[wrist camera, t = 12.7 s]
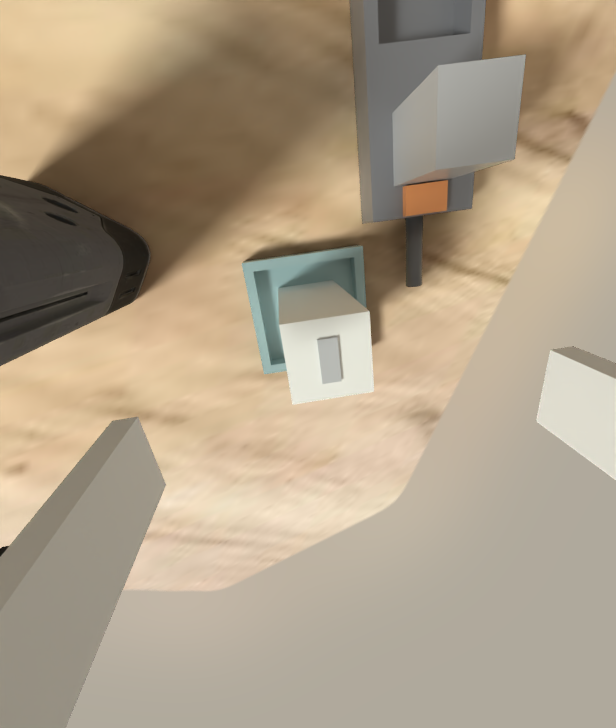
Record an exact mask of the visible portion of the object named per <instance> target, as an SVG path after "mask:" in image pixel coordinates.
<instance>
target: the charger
mask: <svg viewBox="0 0 616 728" xmlns="http://www.w3.org/2000/svg"><path fill="white" fill-rule="evenodd" d="M278 305H279V328H280V333H281V339H282V345H283V351H284V357H285V363H286V369H287V374H288V380H289V386H290V392H291V398H292V404H293V405H294V404H300V403H306V402H312V401H319V400H325V399H331V398H337V397H344V396H350V395H356V394H362V393H369V392H374V382H373V363H372V344H371V325H370V311H369V310H368V309H366V308H365V307H364V306H363V305H362V304H360V303H359V302H358V301H357V300H356V299H355V298H353V297H352V296H351V295H350V294H349V293H347V292H346V291H345V290H344V289H343V288H341V287H340V286H339V285H338V284H337V283H335V282H334V281H333V280H329V281H322V282H316V283H309V284H302V285H295V286H288V287H282V288H278Z"/></svg>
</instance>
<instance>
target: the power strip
mask: <svg viewBox="0 0 616 728" xmlns="http://www.w3.org/2000/svg"><path fill="white" fill-rule="evenodd" d="M485 6H486V0H350V17H351V35H352V52H353V70H354V88H355V105H356V123H357V141H358V158H359V176H360V194H361V211H362V224H364V223H373V222H380V221H387V220H394V219H401V218H406V286H407V287H416V286H421V285H422V237H423V215H430V214H437V213H444V212H451V211H458V210H465V209H472V200H473V185H474V172H475V171H478V170H482V169H485V168H488V167H491V166H495V165H498V164H501V163H504V162H507V161H511V160H514V159H515V150H516V141H517V132H518V123H519V113H520V104H521V95H522V86H523V77H524V67H525V58H526V55H518V56H510V57H502V58H494V59H486V60H482V50H483V35H484V21H485Z"/></svg>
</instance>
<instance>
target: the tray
mask: <svg viewBox="0 0 616 728" xmlns="http://www.w3.org/2000/svg"><path fill="white" fill-rule="evenodd" d="M242 267H243V272H244V277H245V282H246V286H247V291H248V296H249V301H250V306H251V311H252V316H253V321H254V326H255V331H256V336H257V341H258V346H259V351H260V356H261V361H262V366H263V370H264V374H269V373H275V372H282V371H287V369H286V363H285V357H284V351H283V345H282V339H281V333H280V328H279V305H278V288H282V287H288V286H295V285H302V284H309V283H316V282H322V281H329V280H333V281H334V282H335V283H337V284H338V285H339V286H340V287H341V288H343V289H344V290H345V291H346V292H347V293H349V294H350V295H351V296H352V297H353V298H355V299H356V300H357V301H358V302H359V303H360V304H362V305H363V306H364V307H365V308H366V292H365V274H364V257H363V246H360V245H354V246H347V247H340V248H333V249H326V250H319V251H312V252H305V253H298V254H291V255H284V256H277V257H270V258H263V259H256V260H249V261H244V262H243V263H242Z"/></svg>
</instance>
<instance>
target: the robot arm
mask: <svg viewBox="0 0 616 728" xmlns="http://www.w3.org/2000/svg"><path fill="white" fill-rule="evenodd" d="M536 421H537V422H538V423H539V424H540V425H542V426H543V427H545V428H546V429H547V430H549V431H550V432H551V433H553V434H554V435H555V436H557V437H558V438H559V439H561V440H562V441H563V442H565V443H566V444H568V445H569V446H570V447H572V448H573V449H574V450H576V451H577V452H578V453H580V454H581V455H582V456H584V457H585V458H586V459H588V460H589V461H590V462H592V463H593V464H594V465H596V466H597V467H599V468H600V469H601V470H603V471H604V472H606V473H607V474H608V475H609V476H611V477H612V478H613V479H615V480H616V363H613V362H611V361H609V360H606V359H604V358H601V357H599V356H596V355H594V354H591V353H589V352H586V351H584V350H581V349H579V348H576V347H574V346H572V347H565V348H560V349H553V350H550V355H549V359H548V364H547V370H546V374H545V379H544V384H543V389H542V394H541V400H540V404H539V409H538V414H537V419H536ZM165 486H166V483H165V481H164V479H163V476H162V474H161V471H160V469H159V467H158V464H157V462H156V459H155V457H154V454H153V452H152V450H151V447H150V445H149V442H148V440H147V438H146V435H145V433H144V430H143V428H142V425H141V423H140V421H139V418H138V417H133V418H127V419H121V420H115V421H112V422H111V423H110V424H109V426H108V427H107V428H106V429H105V430H104V432H103V433H102V434H101V435H100V437H99V438H98V439H97V440H96V441H95V443H94V444H93V445H92V446H91V447H90V449H89V450H88V451H87V452H86V454H85V455H84V456H83V457H82V458H81V460H80V461H79V462H78V463H77V464H76V466H75V467H74V468H73V469H72V471H71V472H70V473H69V474H68V475H67V477H66V478H65V479H64V480H63V481H62V483H61V484H60V485H59V486H58V488H57V489H56V490H55V491H54V492H53V494H52V495H51V496H50V497H49V498H48V500H47V501H46V502H45V503H44V505H43V506H42V507H41V508H40V509H39V511H38V512H37V513H36V514H35V515H34V517H33V518H32V519H31V520H30V522H29V523H28V524H27V525H26V526H25V528H24V529H23V530H22V531H21V532H20V534H19V535H18V536H17V537H16V539H15V540H14V541H13V542H12V543H11V545H10V546H6V547H2V548H1V549H0V728H66V726H67V723H68V720H69V718H70V716H71V713H72V711H73V708H74V706H75V703H76V701H77V699H78V696H79V694H80V692H81V689H82V687H83V684H84V682H85V680H86V677H87V675H88V672H89V670H90V667H91V665H92V662H93V660H94V658H95V655H96V653H97V650H98V648H99V646H100V643H101V641H102V638H103V636H104V634H105V631H106V629H107V626H108V624H109V621H110V619H111V617H112V614H113V612H114V609H115V607H116V604H117V602H118V600H119V597H120V595H121V592H122V590H123V588H124V585H125V583H126V580H127V578H128V575H129V573H130V571H131V568H132V566H133V563H134V561H135V559H136V556H137V554H138V551H139V549H140V546H141V544H142V542H143V539H144V537H145V534H146V532H147V529H148V527H149V525H150V522H151V520H152V517H153V515H154V513H155V510H156V508H157V505H158V503H159V500H160V498H161V496H162V493H163V491H164V488H165Z"/></svg>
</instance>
